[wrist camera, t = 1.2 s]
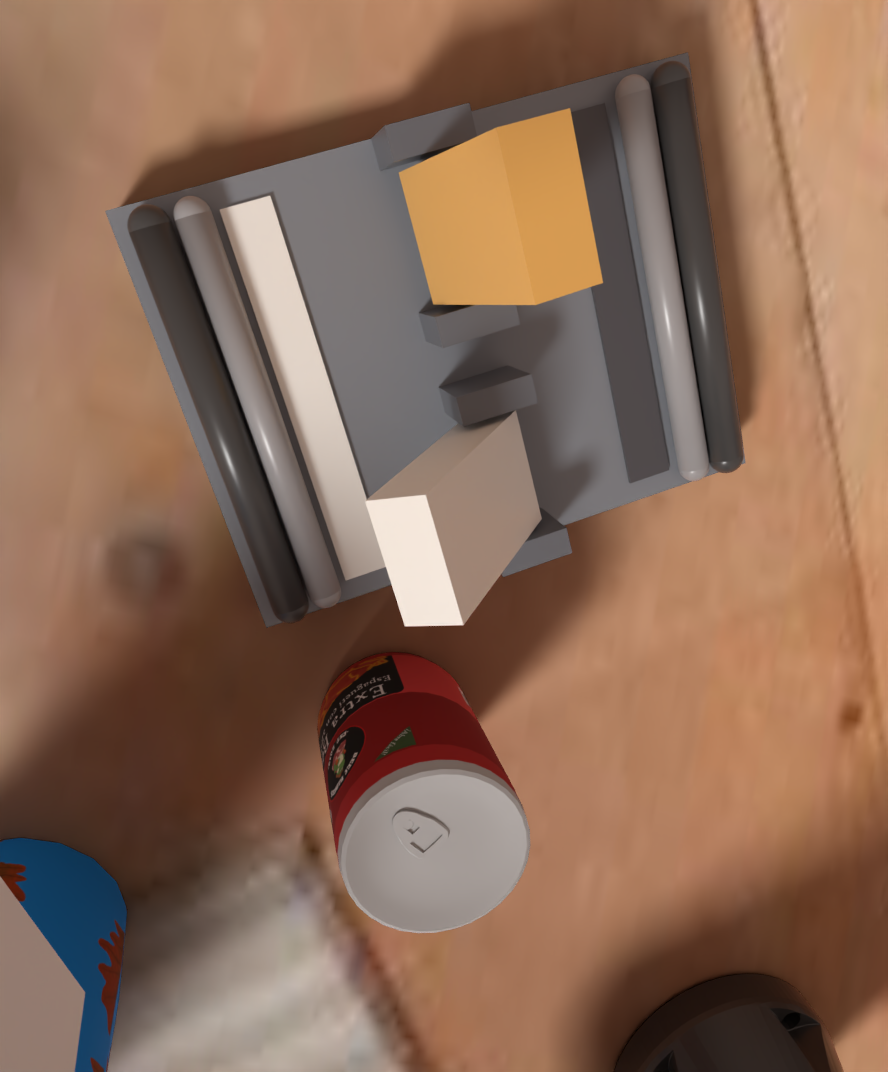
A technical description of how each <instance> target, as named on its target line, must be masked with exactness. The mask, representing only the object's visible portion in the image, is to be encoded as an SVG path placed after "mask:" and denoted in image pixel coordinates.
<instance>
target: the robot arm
mask: <svg viewBox="0 0 888 1072" xmlns="http://www.w3.org/2000/svg"><path fill="white" fill-rule="evenodd" d="M84 998H85V991H84V990H83V989H82V987H81V986H80V985H79V983H78V982H77V980H76V979H75V978H74V976H73V975H72V974H71V972H70V971H69V970H68V968H67V967H66V965H65V964H64V963H63V961H62V960H61V959H60V957H59V956H58V955H57V953H56V952H55V950H54V949H53V948H52V946H51V945H50V944H49V942H48V941H47V940H46V938H45V937H44V935H43V934H42V933H41V931H40V930H39V929H38V927H37V926H36V925H35V923H34V922H33V920H32V919H31V918H30V916H29V915H28V914H27V912H26V911H25V910H24V908H23V907H22V905H21V904H20V903H19V901H18V900H17V899H16V897H15V896H14V895H13V893H12V892H11V890H10V889H9V888H8V886H7V885H6V884H5V882H4V881H3V880H2V878H1V877H0V1072H75V1065H76V1058H77V1050H78V1043H79V1035H80V1028H81V1020H82V1013H83V1005H84ZM614 1072H844V1071H843V1068H842V1066H841V1063H840V1061H839V1058H838V1055H837V1053H836V1050H835V1047H834V1045H833V1042H832V1039H831V1037H830V1035H829V1032H828V1031H827V1029H826V1027H825V1025H824V1024H823V1022H822V1020H821V1019H820V1018H819V1016H818V1015H817V1014H816V1012H815V1011H814V1010H813V1009H812V1007H811V1006H810V1005H809V1003H808V1002H807V1001H806V999H805V998H804V997H803V996H802V994H801V993H800V992H799V991H798V990H797V989H795V988H794V987H793V986H791V985H790V984H788V983H786V982H785V981H782V980H780V979H777V978H774V977H771V976H766V975H759V974H740V975H732V976H726V977H722V978H718V979H714V980H711V981H708V982H705V983H703V984H700V985H698V986H696V987H694V988H691V989H689V990H687V991H686V992H684V993H682V994H680V995H678V996H677V997H675V998H674V999H672V1000H671V1001H669V1002H668V1003H666V1004H665V1005H664V1006H662V1007H661V1008H660V1009H659V1010H657V1011H656V1012H655V1013H654V1014H653V1015H652V1016H651V1017H649V1018H648V1019H647V1020H646V1021H645V1022H644V1023H643V1025H642V1026H641V1027H640V1028H639V1029H638V1030H637V1031H636V1033H635V1034H634V1035H633V1037H632V1038H631V1039H630V1041H629V1042H628V1044H627V1045H626V1047H625V1049H624V1050H623V1052H622V1054H621V1056H620V1058H619V1060H618V1063H617V1065H616V1068H615V1071H614Z"/></svg>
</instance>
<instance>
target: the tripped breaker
mask: <svg viewBox="0 0 888 1072" xmlns="http://www.w3.org/2000/svg"><path fill="white" fill-rule="evenodd" d="M399 176H400V180H401V184H402V187H403V191H404V195H405V199H406V203H407V206H408V210H409V214H410V218H411V222H412V225H413V229H414V233H415V237H416V241H417V244H418V248H419V252H420V256H421V260H422V263H423V267H424V271H425V275H426V279H427V282H428V286H429V290H430V294H431V298H432V301H433V305H537V304H540V303H543V302H546V301H549V300H552V299H555V298H559V297H562V296H565V295H568V294H571V293H574V292H577V291H580V290H583V289H586V288H589V287H592V286H595V285H598V284H601V283H603V280H602V274H601V269H600V264H599V259H598V253H597V248H596V243H595V237H594V232H593V227H592V222H591V216H590V211H589V206H588V200H587V195H586V190H585V185H584V179H583V174H582V169H581V163H580V158H579V153H578V148H577V142H576V137H575V132H574V126H573V121H572V116H571V111H570V108H569V109H565V110H561V111H557V112H553V113H550V114H546V115H542V116H538V117H534V118H531V119H527V120H523V121H519V122H515V123H512V124H508V125H504V126H500V127H497V128H494V129H492V130H490V131H488V132H486V133H484V134H481V135H479V136H477V137H475V138H473V139H470V140H468V141H466V142H464V143H462V144H460V145H457V146H455V147H453V148H451V149H449V150H447V151H444V152H442V153H440V154H438V155H436V156H434V157H431V158H429V159H427V160H425V161H423V162H421V163H418V164H416V165H414V166H412V167H410V168H408V169H405V170H403V171H401V172H399Z"/></svg>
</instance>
